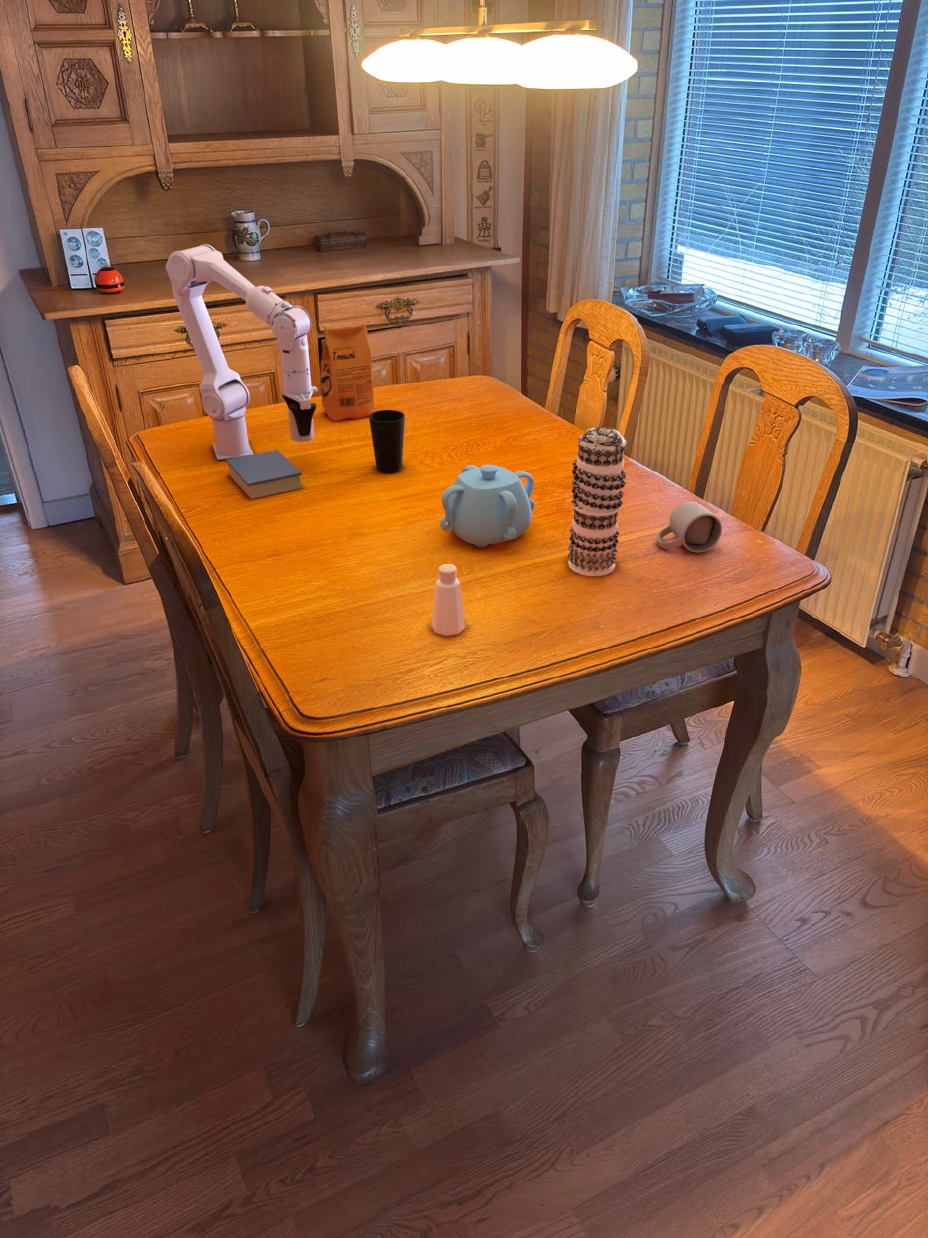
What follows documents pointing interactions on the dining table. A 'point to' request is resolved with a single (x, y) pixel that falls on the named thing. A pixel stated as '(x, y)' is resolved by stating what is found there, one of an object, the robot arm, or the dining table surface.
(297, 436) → the white cylindrical tumbler
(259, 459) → the blue hardcover book
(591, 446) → the decorative candle
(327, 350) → the coffee package
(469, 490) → the decorative pot
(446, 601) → the salt shaker
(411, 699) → the dining table surface
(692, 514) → the ceramic mug
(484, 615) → the dining table surface
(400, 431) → the cup
